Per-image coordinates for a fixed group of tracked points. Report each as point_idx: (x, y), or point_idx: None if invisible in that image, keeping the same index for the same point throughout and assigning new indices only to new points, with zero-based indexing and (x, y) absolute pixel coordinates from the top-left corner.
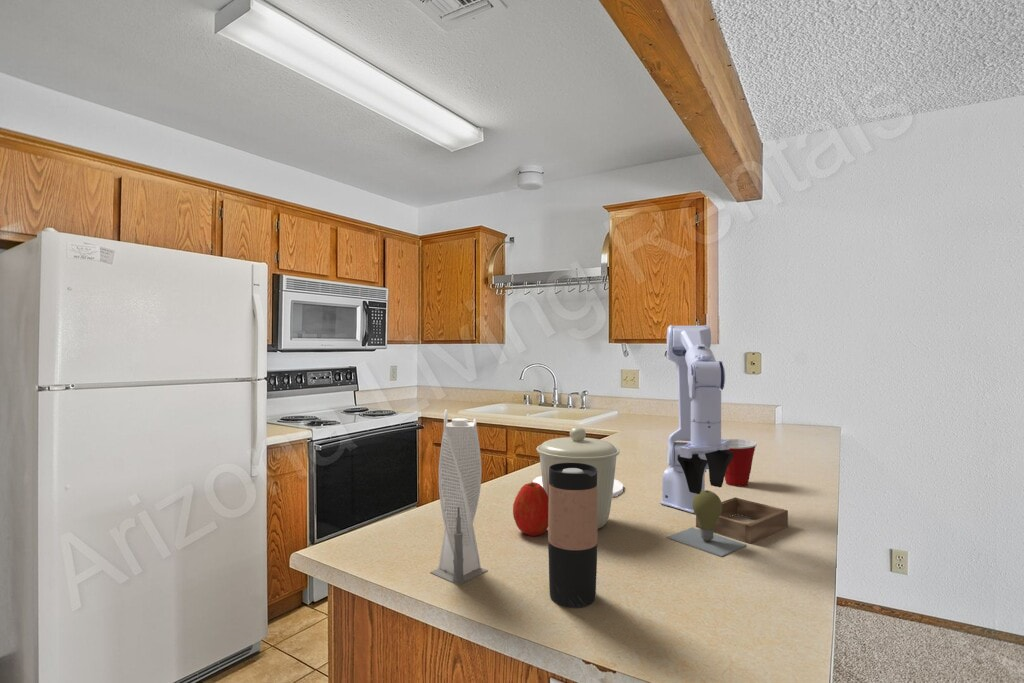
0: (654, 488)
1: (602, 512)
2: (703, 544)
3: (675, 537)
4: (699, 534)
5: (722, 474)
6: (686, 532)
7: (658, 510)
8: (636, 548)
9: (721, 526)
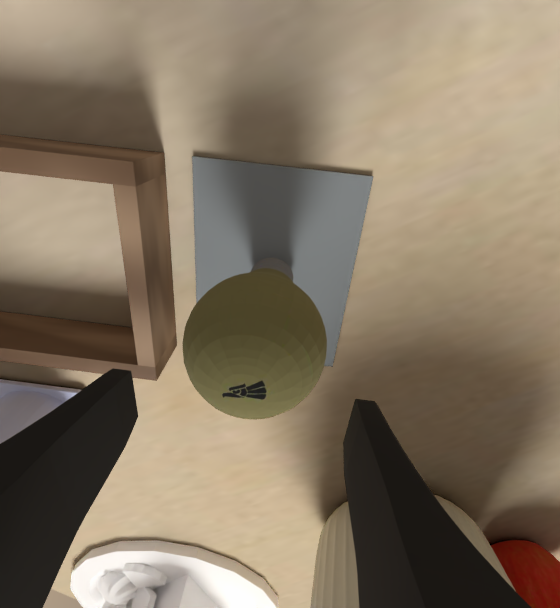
0: None
1: None
2: (312, 266)
3: None
4: None
5: (71, 429)
6: None
7: (150, 454)
8: (469, 384)
9: (160, 276)
